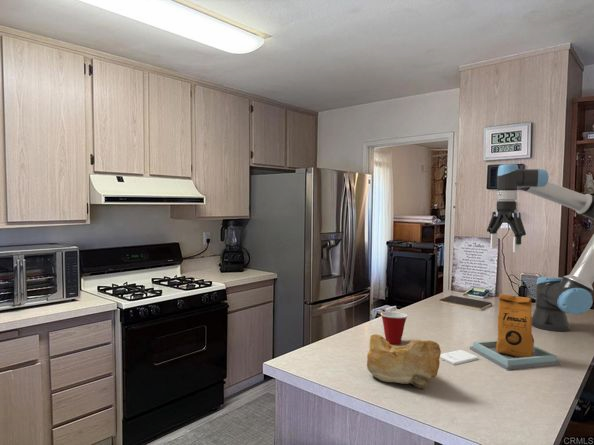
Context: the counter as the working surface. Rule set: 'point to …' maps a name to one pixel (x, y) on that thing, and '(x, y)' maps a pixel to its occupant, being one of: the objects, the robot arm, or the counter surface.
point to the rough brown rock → (403, 361)
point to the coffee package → (515, 326)
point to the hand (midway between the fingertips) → (504, 250)
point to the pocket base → (512, 362)
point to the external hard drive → (458, 357)
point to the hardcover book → (465, 302)
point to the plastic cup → (393, 326)
